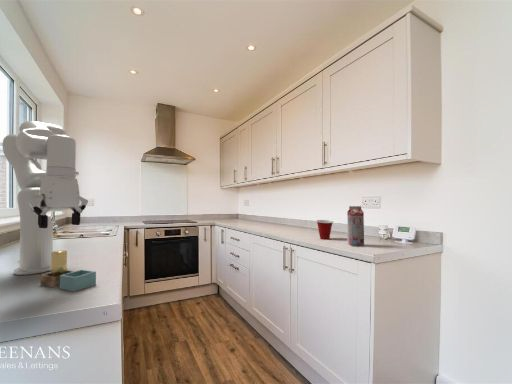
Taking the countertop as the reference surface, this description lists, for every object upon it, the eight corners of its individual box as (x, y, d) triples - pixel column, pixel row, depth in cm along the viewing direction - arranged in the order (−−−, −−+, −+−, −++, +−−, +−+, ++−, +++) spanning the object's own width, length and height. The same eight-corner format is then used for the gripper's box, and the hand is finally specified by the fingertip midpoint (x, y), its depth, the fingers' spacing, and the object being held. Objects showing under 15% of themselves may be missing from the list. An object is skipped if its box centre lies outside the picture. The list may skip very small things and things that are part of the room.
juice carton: (364, 246, 139) (363, 206, 140) (352, 246, 140) (351, 206, 140) (359, 244, 146) (358, 206, 147) (347, 244, 146) (347, 206, 147)
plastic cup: (324, 240, 158) (324, 221, 159) (313, 238, 168) (312, 220, 168) (337, 239, 164) (337, 220, 164) (325, 237, 173) (324, 219, 173)
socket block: (40, 284, 80) (40, 275, 80) (63, 278, 86) (63, 269, 86) (53, 287, 77) (53, 277, 78) (76, 280, 84) (76, 271, 84)
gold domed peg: (48, 284, 81) (48, 252, 81) (61, 280, 84) (62, 250, 85) (55, 285, 79) (56, 253, 79) (69, 281, 83) (69, 250, 83)
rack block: (59, 288, 76) (59, 275, 76) (82, 281, 82) (82, 269, 83) (74, 291, 74) (74, 277, 74) (95, 284, 80) (95, 271, 80)
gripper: (80, 176, 92) (79, 223, 92) (21, 171, 76) (20, 228, 76) (94, 175, 89) (93, 224, 89) (37, 170, 73) (35, 230, 73)
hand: (60, 226), depth 82 cm, fingers open, 9 cm apart
